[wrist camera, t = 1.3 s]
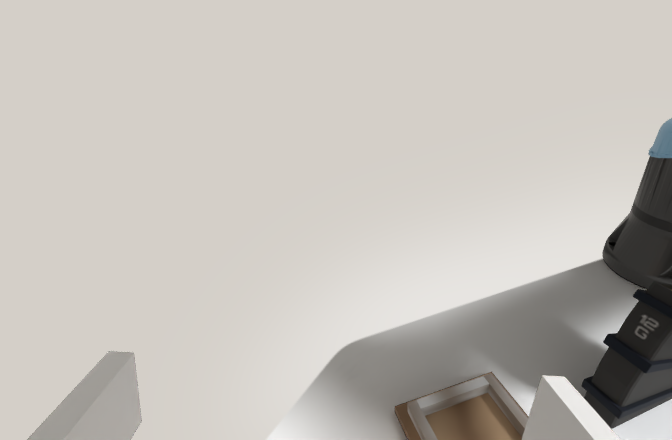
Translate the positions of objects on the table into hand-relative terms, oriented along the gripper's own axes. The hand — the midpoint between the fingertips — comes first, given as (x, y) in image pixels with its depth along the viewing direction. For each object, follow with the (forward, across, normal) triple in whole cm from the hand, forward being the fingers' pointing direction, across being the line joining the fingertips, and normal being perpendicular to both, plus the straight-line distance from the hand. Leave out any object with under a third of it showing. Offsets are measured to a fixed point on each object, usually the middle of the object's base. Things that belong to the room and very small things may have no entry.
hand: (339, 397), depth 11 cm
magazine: (+19, +34, -17) cm, 43 cm away
